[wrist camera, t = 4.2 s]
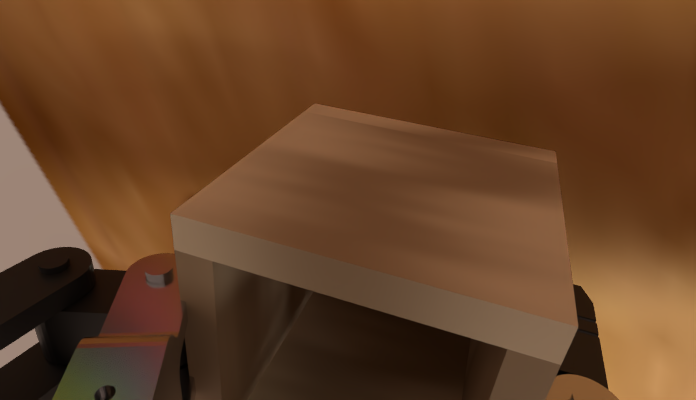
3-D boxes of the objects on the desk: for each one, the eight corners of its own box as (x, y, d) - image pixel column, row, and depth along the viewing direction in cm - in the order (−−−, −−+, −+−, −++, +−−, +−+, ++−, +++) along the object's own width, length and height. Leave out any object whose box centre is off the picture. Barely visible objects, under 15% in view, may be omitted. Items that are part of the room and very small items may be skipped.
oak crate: (555, 151, 11) (578, 327, 6) (493, 337, 14) (473, 557, 9) (314, 103, 12) (170, 213, 7) (304, 281, 15) (197, 445, 10)
